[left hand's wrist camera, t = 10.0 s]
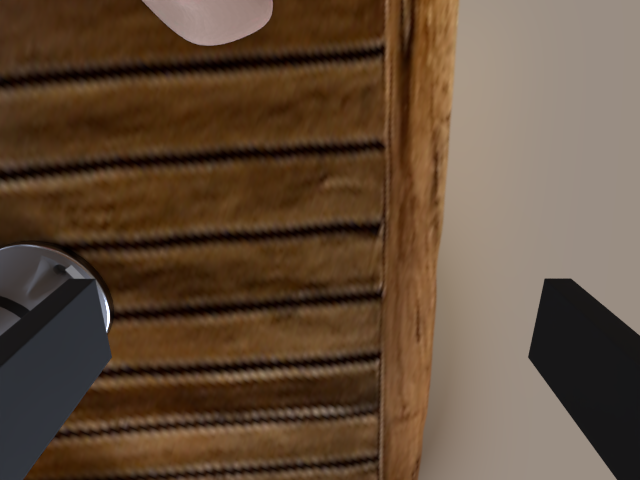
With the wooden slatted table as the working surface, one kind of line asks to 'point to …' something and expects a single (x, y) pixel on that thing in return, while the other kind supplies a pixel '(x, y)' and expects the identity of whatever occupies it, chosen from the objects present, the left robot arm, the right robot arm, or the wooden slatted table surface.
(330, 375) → the wooden slatted table surface
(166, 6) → the anatomical model
